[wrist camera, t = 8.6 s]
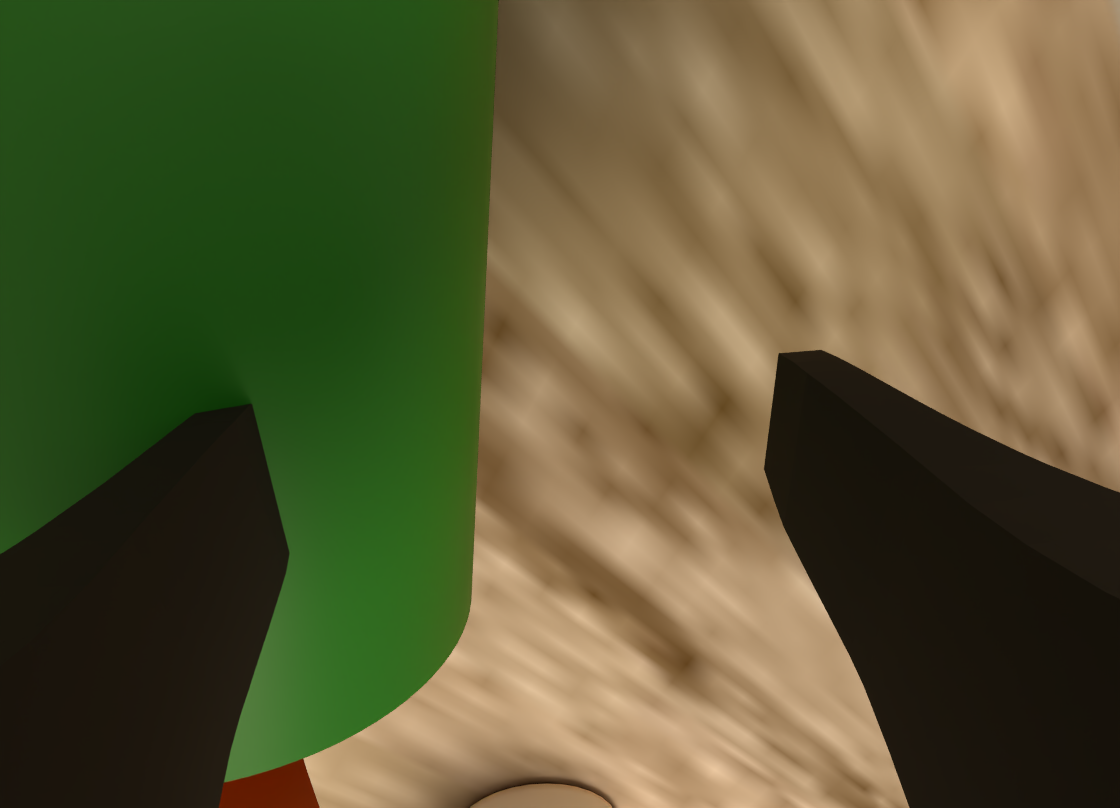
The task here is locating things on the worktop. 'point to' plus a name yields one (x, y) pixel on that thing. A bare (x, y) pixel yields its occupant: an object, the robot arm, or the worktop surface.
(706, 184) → the worktop surface
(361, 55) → the green vase with flowers
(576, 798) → the milk bottle
